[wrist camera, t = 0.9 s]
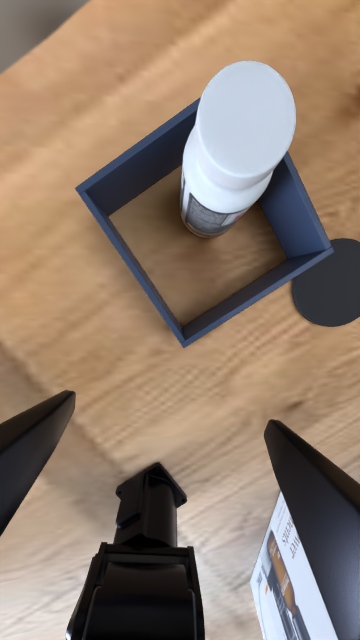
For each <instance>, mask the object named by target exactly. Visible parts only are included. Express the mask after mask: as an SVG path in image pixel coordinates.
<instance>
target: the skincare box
mask: <svg viewBox="0 0 360 640" xmlns="http://www.w3.org/2000/svg"><path fill="white" fill-rule="evenodd" d="M250 585H251V588H252V593H253V597H254V601H255V605H256V609H257V613H258V617H259V622H260V626H261V630H262V634H263V638H264V640H338V638H337V636H336V633H335V630H334V628H333V625H332V623H331V620H330V617H329V615H328V612H327V609H326V607H325V604H324V602H323V599H322V596H321V594H320V591H319V589H318V586H317V583H316V581H315V578H314V576H313V573H312V570H311V568H310V565H309V562H308V560H307V557H306V555H305V552H304V549H303V547H302V544H301V542H300V539H299V536H298V534H297V531H296V528H295V526H294V523H293V521H292V518H291V515H290V513H289V510H288V508H287V505H286V502H285V500H284V497H283V495H282V492H280V495H279V498H278V501H277V504H276V507H275V509H274V512H273V515H272V518H271V521H270V524H269V527H268V530H267V533H266V536H265V539H264V542H263V545H262V547H261V550H260V553H259V556H258V559H257V563H256V565H255V568H254V571H253V574H252V577H251V580H250Z"/></svg>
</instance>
